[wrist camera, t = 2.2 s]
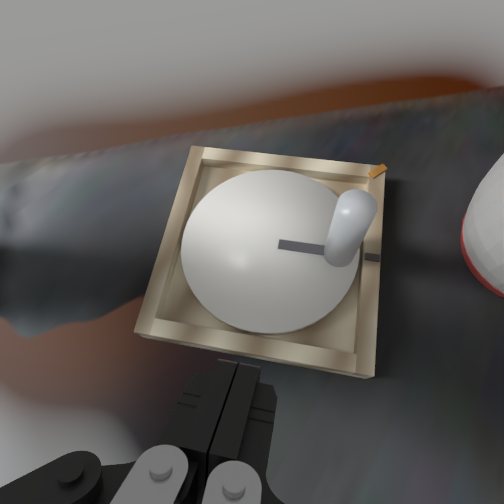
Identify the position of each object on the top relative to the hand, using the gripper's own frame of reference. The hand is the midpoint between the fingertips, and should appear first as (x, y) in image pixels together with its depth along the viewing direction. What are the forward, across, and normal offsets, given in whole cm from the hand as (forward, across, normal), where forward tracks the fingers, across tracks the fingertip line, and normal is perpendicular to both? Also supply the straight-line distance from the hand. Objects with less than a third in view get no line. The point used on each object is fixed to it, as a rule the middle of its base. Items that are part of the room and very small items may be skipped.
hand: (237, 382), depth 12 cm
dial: (+25, +2, +5) cm, 26 cm away
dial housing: (+26, +2, +6) cm, 27 cm away
